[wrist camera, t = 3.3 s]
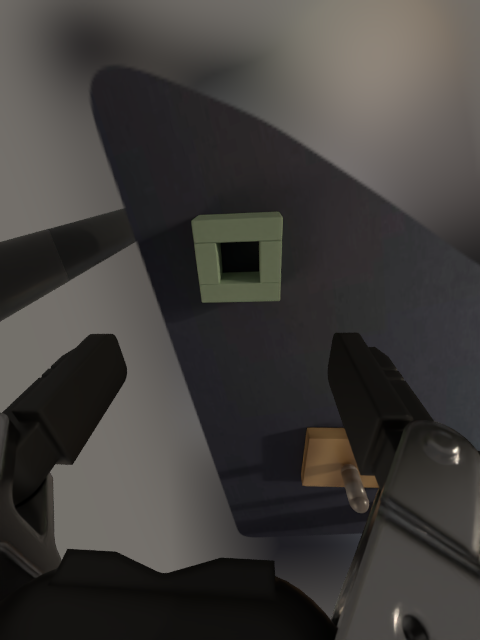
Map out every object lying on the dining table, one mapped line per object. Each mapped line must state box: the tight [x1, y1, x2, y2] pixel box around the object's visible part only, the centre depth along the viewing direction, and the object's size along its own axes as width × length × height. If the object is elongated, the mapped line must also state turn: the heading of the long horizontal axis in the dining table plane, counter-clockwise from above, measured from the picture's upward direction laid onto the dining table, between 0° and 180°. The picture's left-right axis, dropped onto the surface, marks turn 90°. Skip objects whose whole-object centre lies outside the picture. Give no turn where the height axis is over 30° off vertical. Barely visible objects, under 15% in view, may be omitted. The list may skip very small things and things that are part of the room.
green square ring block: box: [191, 212, 283, 303], centre depth 19 cm, size 6×6×3 cm
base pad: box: [301, 428, 379, 513], centre depth 30 cm, size 10×10×6 cm
